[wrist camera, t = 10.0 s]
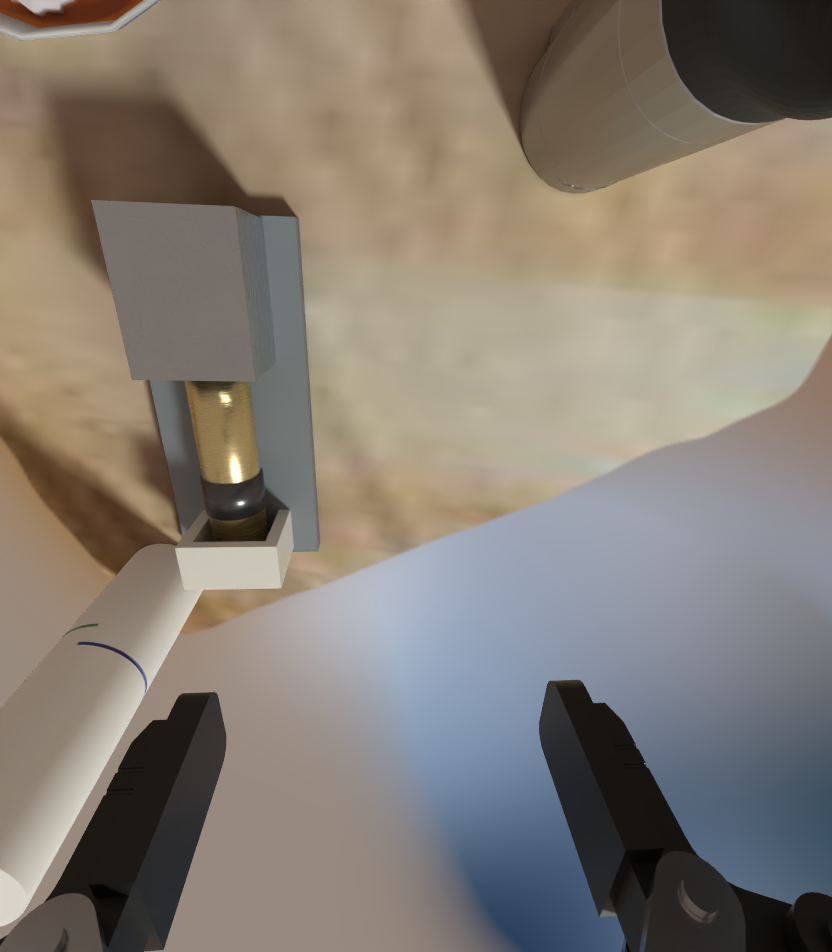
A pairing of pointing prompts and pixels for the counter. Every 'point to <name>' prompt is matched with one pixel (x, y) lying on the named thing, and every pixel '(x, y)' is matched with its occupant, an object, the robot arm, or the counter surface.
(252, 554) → the socket
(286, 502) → the board
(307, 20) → the counter surface
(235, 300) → the sleeve
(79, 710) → the cylindrical container
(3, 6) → the ramen bowl
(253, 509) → the tube
